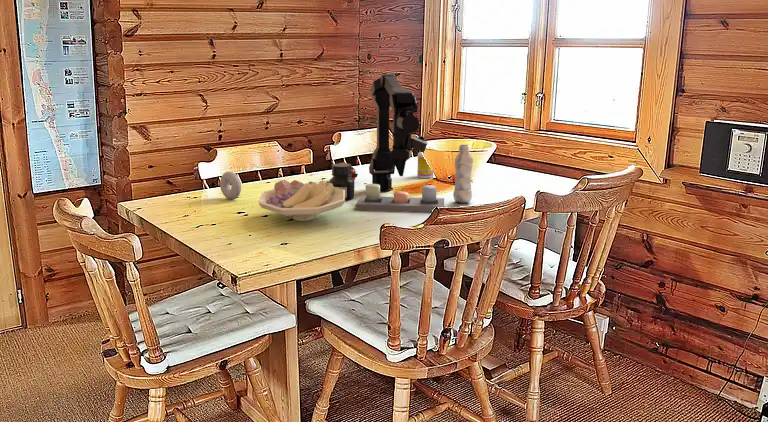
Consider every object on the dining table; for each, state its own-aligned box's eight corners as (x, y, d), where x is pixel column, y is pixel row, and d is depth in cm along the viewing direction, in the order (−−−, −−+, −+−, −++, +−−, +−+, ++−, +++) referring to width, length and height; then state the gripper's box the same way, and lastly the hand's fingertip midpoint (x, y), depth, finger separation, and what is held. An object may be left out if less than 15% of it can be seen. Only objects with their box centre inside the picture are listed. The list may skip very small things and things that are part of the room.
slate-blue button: (421, 201, 226) (421, 188, 225) (422, 197, 231) (422, 185, 230) (436, 201, 226) (436, 188, 225) (436, 198, 231) (436, 185, 229)
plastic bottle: (473, 201, 239) (475, 144, 234) (469, 205, 233) (471, 147, 228) (455, 199, 241) (457, 143, 236) (451, 203, 235) (452, 146, 230)
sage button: (364, 199, 228) (364, 186, 227) (366, 196, 233) (366, 183, 232) (379, 199, 228) (379, 187, 227) (380, 196, 232) (380, 184, 231)
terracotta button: (393, 207, 228) (393, 194, 227) (394, 203, 233) (394, 191, 231) (407, 207, 227) (407, 194, 226) (408, 204, 232) (408, 191, 231)
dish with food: (311, 235, 197) (310, 187, 193) (239, 221, 211) (237, 176, 207) (364, 215, 220) (364, 171, 216) (296, 203, 234) (295, 162, 230)
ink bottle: (323, 198, 242) (322, 164, 239) (341, 194, 248) (341, 161, 245) (342, 202, 236) (342, 168, 233) (360, 198, 242) (360, 165, 239)
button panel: (355, 210, 226) (355, 204, 225) (360, 201, 237) (360, 195, 237) (443, 212, 223) (443, 206, 222) (444, 203, 234) (444, 198, 234)
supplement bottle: (434, 178, 276) (434, 147, 272) (417, 178, 276) (418, 147, 272) (433, 175, 282) (433, 144, 279) (417, 175, 282) (417, 144, 279)
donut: (243, 200, 237) (242, 172, 235) (235, 202, 235) (234, 174, 232) (226, 196, 244) (225, 168, 241) (218, 198, 241) (217, 170, 239)
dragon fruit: (335, 183, 274) (354, 192, 266) (323, 173, 267) (342, 182, 259) (346, 165, 275) (366, 174, 267) (334, 155, 268) (354, 164, 260)
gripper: (425, 133, 214) (424, 182, 217) (427, 126, 232) (426, 171, 236) (389, 132, 215) (389, 181, 219) (394, 125, 233) (394, 170, 237)
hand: (401, 176), depth 227 cm, fingers closed
